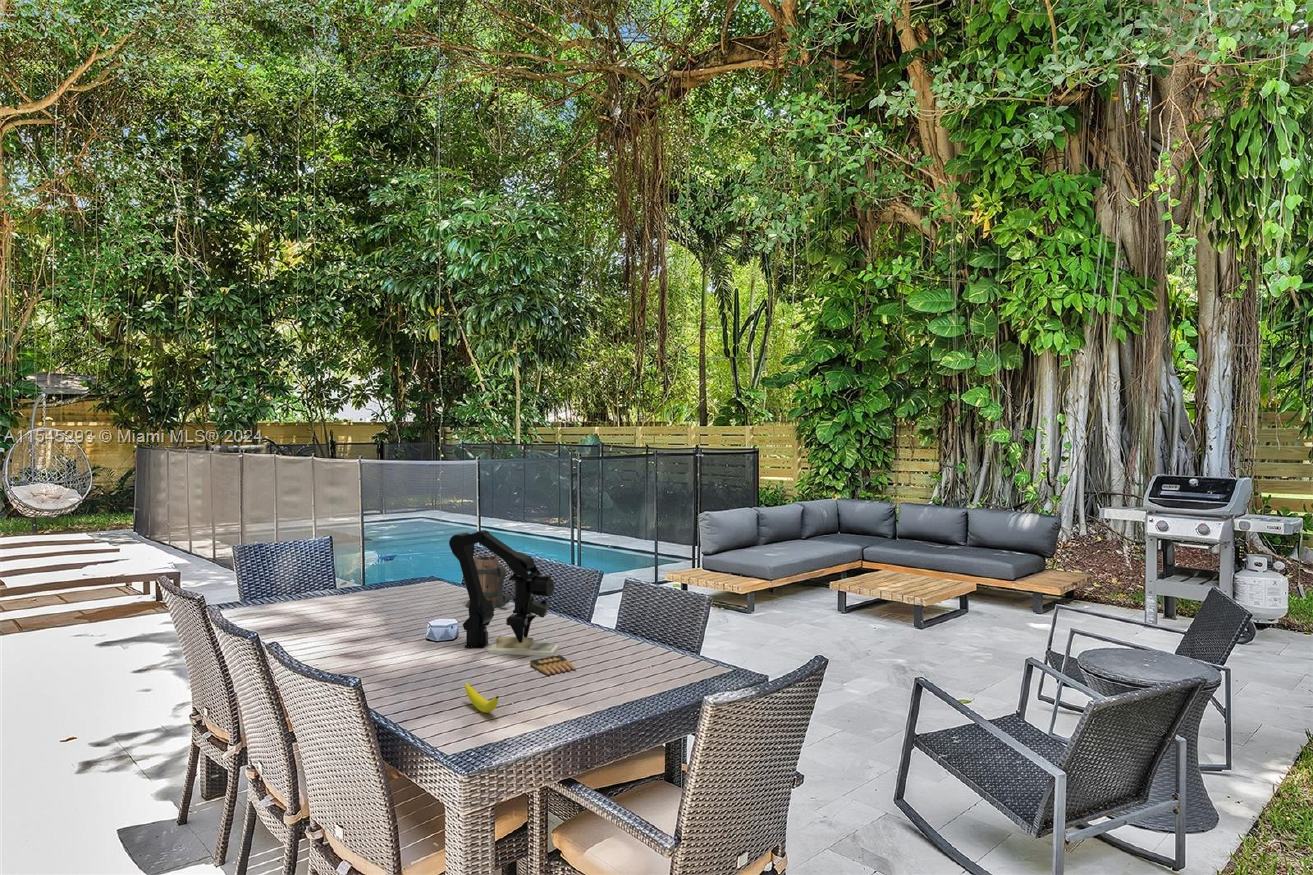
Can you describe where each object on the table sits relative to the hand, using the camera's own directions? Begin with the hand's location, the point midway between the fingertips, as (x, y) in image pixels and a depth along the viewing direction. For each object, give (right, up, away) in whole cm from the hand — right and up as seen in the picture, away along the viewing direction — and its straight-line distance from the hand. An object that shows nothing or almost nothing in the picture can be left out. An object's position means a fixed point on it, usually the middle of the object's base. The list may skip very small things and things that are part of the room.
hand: (523, 640), depth 259 cm
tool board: (0, -4, 0) cm, 4 cm away
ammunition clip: (+9, -3, -14) cm, 17 cm away
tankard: (-25, -3, +65) cm, 69 cm away
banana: (-2, -5, -54) cm, 54 cm away
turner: (+1, -3, 0) cm, 3 cm away
